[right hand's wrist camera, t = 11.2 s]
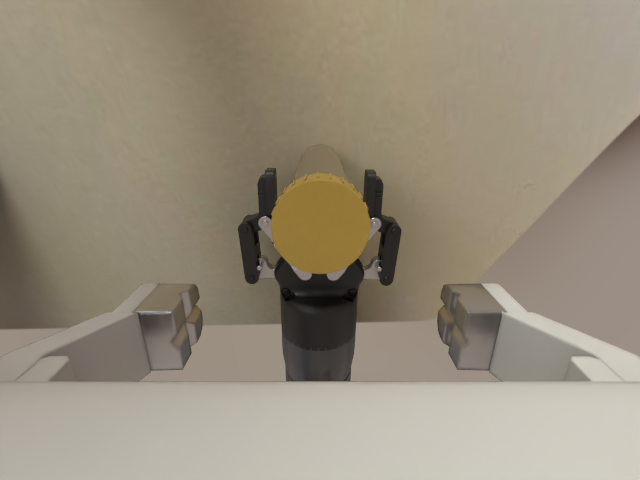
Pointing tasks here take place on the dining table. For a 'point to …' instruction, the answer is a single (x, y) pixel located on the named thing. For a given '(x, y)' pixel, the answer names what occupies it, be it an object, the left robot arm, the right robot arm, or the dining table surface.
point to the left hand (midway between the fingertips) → (320, 170)
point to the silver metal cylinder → (320, 162)
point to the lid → (320, 223)
